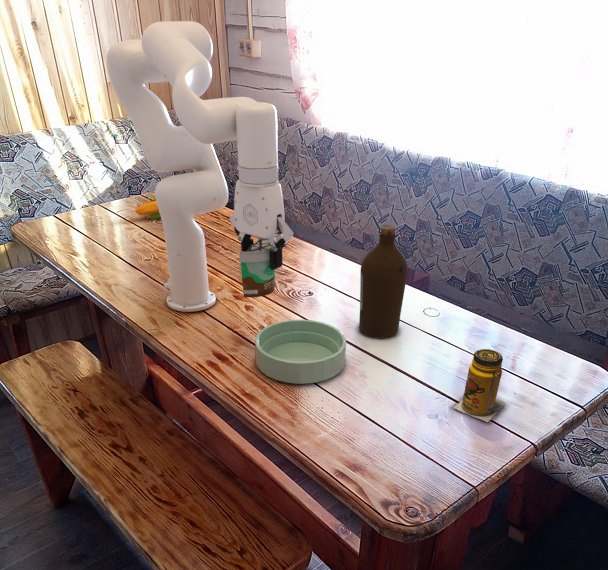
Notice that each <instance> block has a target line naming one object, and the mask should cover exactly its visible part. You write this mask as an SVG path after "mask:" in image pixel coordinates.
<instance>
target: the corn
mask: <svg viewBox="0 0 608 570" xmlns="http://www.w3.org/2000/svg"><path fill="white" fill-rule="evenodd" d="M148 200H149V201H146V202H144V203H142V204H140V205H138V206H137V207H136V209H134V212H135V214H137V215H138V216H147V219H149V220H158V219H161V215H160V212H159V209H158V205H157V202H156V197H155V195H154V196H151V197H148Z"/></svg>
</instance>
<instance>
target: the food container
mask: <svg viewBox="0 0 608 570" xmlns="http://www.w3.org/2000/svg"><path fill="white" fill-rule="evenodd" d="M275 242H276V243H277V240H275ZM271 250H272V248H271V246H270V243H269V241H268V239H263V238H259V237H257V241H255V243H254V244H253V245H250V247H249V248H248V249H247V250H246V252H243V251H241V250H240V251H239V256H238V263H240V272H241V282H242V283H241V284H242V292H243V298H260V297H261V298H262V297H266V296H269V295H270V294H272V293H274V291H275V286H276V285H275V284H276V269H275V270H271V269H270V251H271Z"/></svg>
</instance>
